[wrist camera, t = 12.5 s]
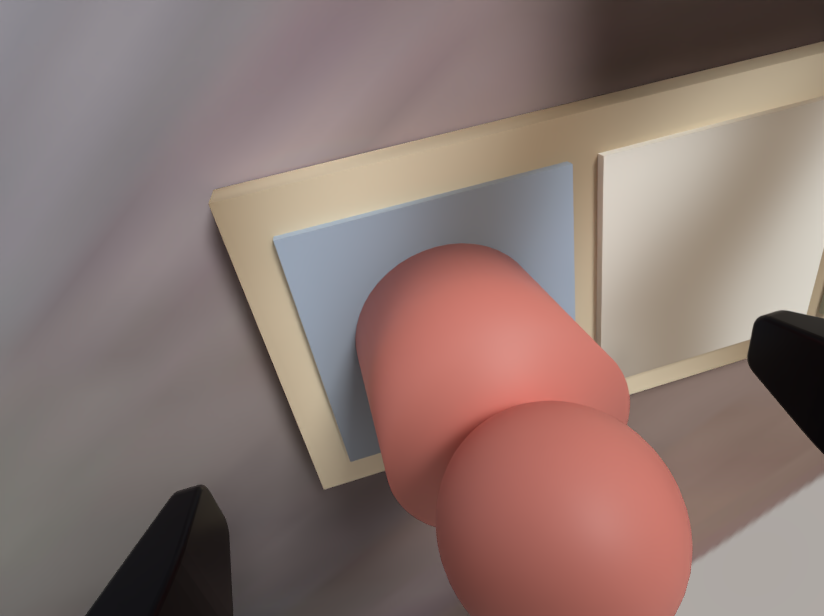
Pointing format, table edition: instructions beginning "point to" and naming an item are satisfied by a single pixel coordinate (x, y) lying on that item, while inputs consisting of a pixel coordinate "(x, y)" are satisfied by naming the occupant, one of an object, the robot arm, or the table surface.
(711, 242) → the board
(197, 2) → the table surface
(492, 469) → the pawn
